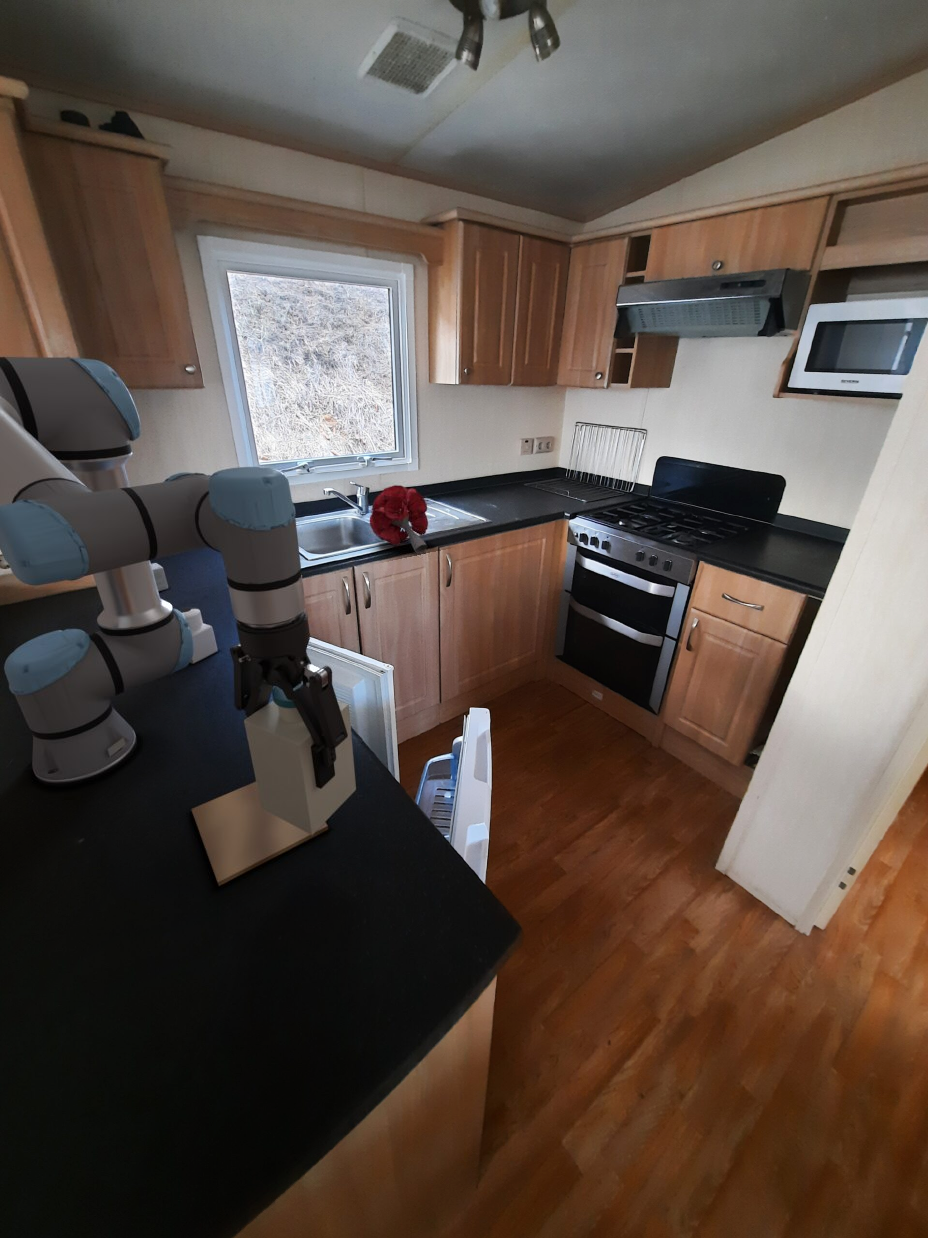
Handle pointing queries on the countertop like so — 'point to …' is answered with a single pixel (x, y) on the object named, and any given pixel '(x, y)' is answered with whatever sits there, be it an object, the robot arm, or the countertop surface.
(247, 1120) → the countertop surface
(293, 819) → the drink carton
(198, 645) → the medicine bottle
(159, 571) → the product box
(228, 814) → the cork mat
